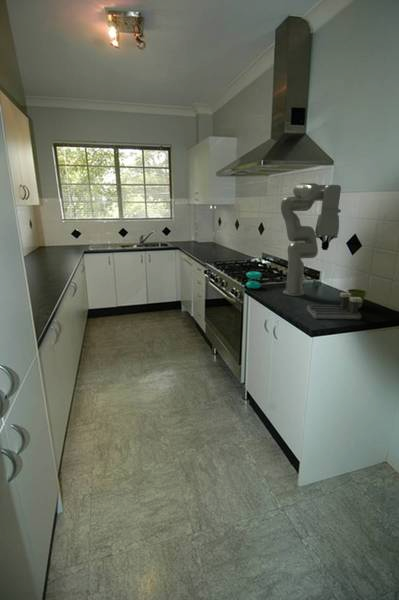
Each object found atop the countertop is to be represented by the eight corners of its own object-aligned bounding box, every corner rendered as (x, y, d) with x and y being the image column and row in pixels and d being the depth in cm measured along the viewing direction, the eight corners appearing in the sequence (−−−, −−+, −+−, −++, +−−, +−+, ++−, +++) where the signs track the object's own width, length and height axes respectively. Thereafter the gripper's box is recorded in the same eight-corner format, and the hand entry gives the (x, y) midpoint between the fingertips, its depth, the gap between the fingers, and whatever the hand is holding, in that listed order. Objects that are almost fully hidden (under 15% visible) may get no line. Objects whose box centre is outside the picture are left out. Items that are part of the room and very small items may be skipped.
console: (306, 309, 167) (307, 304, 166) (348, 310, 166) (349, 304, 166) (315, 318, 154) (315, 313, 153) (360, 319, 153) (361, 313, 152)
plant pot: (368, 308, 169) (371, 292, 166) (354, 310, 166) (356, 294, 164) (355, 303, 178) (358, 288, 175) (341, 304, 175) (343, 289, 172)
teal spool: (254, 270, 215) (264, 273, 207) (253, 284, 218) (264, 287, 210) (243, 272, 210) (253, 274, 202) (242, 286, 213) (252, 289, 205)
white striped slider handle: (338, 306, 165) (340, 292, 162) (346, 306, 164) (348, 292, 162) (340, 308, 161) (342, 294, 159) (349, 308, 161) (351, 294, 159)
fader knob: (347, 311, 157) (349, 296, 155) (356, 311, 157) (359, 297, 155) (350, 313, 154) (352, 298, 152) (359, 313, 154) (362, 298, 151)
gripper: (341, 211, 156) (336, 248, 162) (311, 211, 156) (307, 248, 162) (348, 212, 149) (342, 251, 155) (316, 212, 149) (311, 250, 155)
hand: (324, 249), depth 158 cm, fingers closed
